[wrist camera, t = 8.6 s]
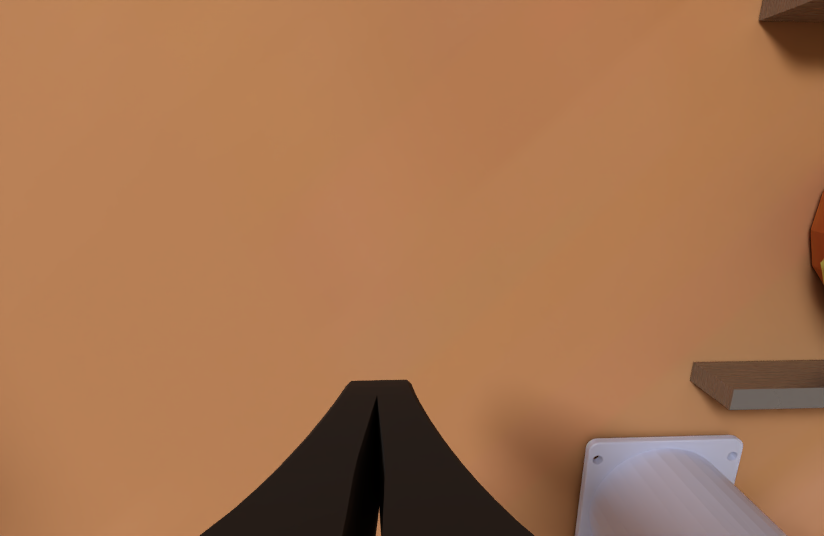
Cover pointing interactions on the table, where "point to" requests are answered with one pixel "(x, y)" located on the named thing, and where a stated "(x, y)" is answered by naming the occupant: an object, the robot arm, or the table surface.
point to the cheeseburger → (818, 240)
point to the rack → (768, 379)
